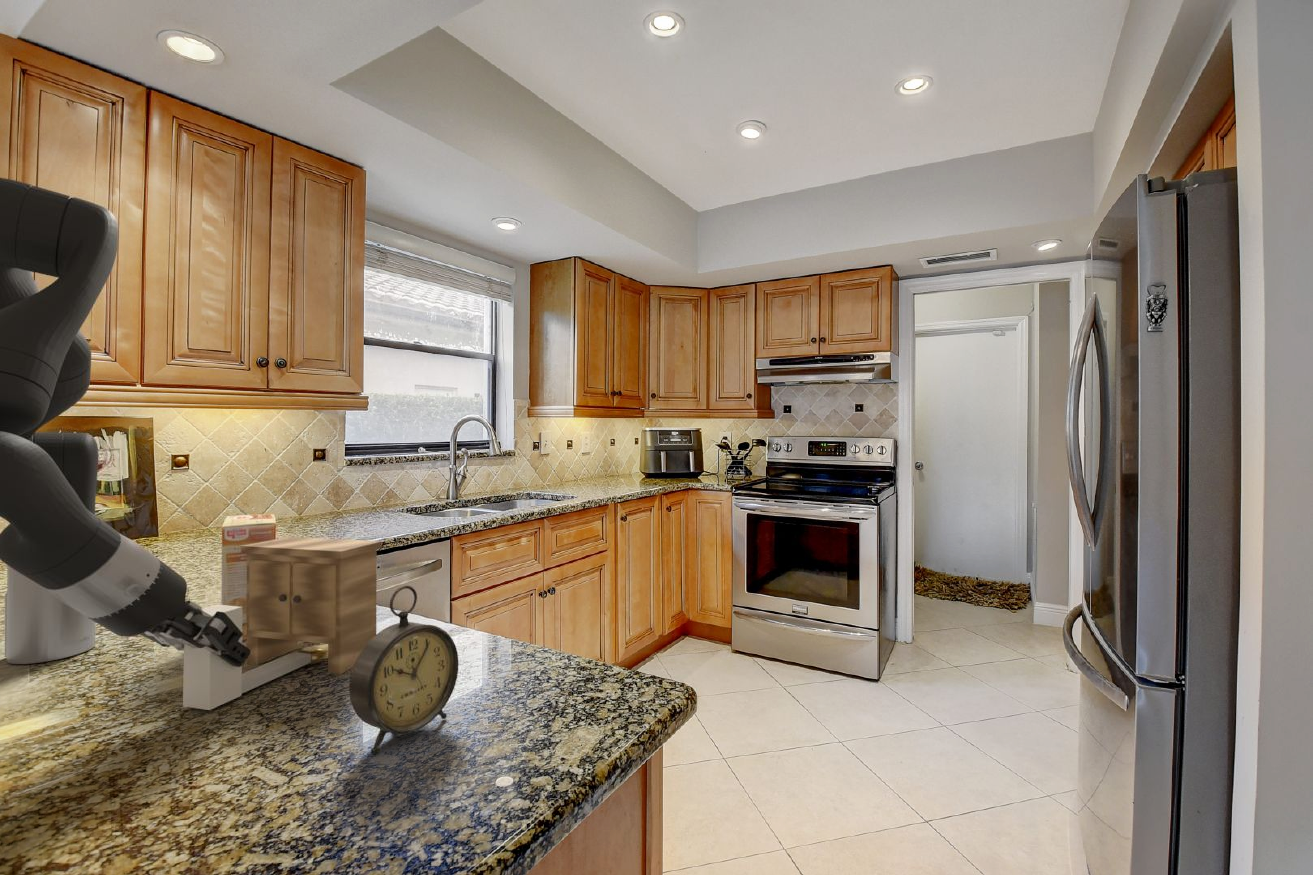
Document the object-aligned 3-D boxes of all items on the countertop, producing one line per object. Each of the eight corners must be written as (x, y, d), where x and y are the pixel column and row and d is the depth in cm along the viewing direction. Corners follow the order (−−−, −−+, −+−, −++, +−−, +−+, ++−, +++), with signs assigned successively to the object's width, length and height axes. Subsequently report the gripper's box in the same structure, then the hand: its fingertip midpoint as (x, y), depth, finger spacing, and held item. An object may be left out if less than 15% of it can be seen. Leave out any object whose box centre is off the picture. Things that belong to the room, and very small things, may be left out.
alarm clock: (371, 764, 57) (371, 601, 57) (340, 749, 60) (341, 593, 60) (461, 719, 66) (461, 578, 66) (431, 707, 69) (431, 572, 69)
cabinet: (237, 665, 82) (238, 546, 82) (288, 645, 90) (288, 536, 90) (338, 677, 78) (338, 551, 78) (381, 654, 86) (381, 541, 86)
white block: (183, 706, 69) (184, 613, 69) (290, 659, 83) (291, 583, 83) (209, 710, 68) (210, 616, 68) (313, 662, 82) (314, 585, 82)
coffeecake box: (276, 648, 89) (276, 522, 89) (218, 658, 85) (218, 526, 85) (274, 623, 101) (275, 512, 101) (224, 630, 97) (224, 515, 97)
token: (290, 663, 83) (290, 654, 83) (314, 652, 87) (314, 643, 87) (315, 666, 82) (315, 656, 82) (339, 655, 86) (339, 645, 86)
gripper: (198, 556, 61) (294, 634, 73) (99, 550, 65) (206, 625, 76) (142, 622, 56) (255, 694, 68) (37, 610, 59) (162, 681, 71)
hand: (228, 657), depth 72 cm, fingers closed on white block, 4 cm apart
